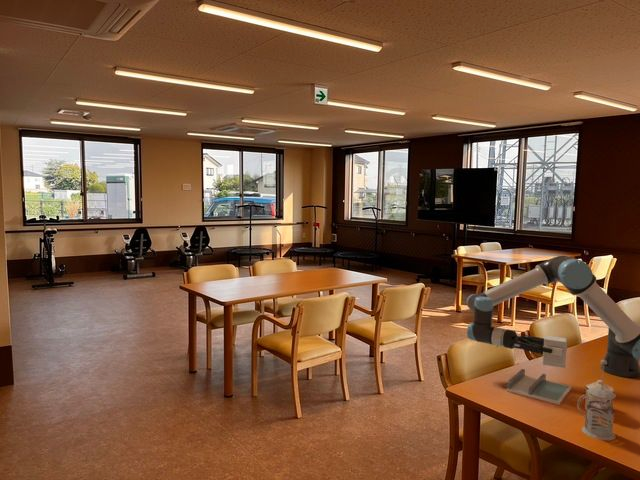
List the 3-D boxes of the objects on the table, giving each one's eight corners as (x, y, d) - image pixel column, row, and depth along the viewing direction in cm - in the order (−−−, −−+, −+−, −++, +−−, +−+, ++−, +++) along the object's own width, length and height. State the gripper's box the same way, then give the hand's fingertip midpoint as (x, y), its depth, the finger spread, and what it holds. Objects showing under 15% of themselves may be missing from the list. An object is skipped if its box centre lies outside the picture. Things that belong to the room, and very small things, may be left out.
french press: (619, 442, 155) (625, 366, 152) (579, 436, 158) (584, 362, 156) (610, 428, 164) (616, 356, 162) (573, 423, 167) (578, 352, 165)
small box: (564, 363, 192) (566, 338, 191) (565, 368, 187) (567, 341, 186) (542, 360, 196) (544, 335, 195) (542, 364, 191) (544, 338, 190)
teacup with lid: (608, 419, 170) (610, 387, 169) (580, 410, 177) (582, 380, 176) (618, 409, 179) (620, 379, 177) (591, 401, 185) (593, 372, 184)
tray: (571, 388, 197) (571, 380, 197) (559, 404, 182) (559, 395, 181) (521, 376, 209) (522, 368, 209) (506, 390, 194) (506, 382, 194)
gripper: (511, 341, 211) (569, 353, 197) (495, 352, 195) (557, 366, 181) (513, 324, 210) (571, 335, 196) (497, 334, 195) (558, 347, 180)
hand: (564, 350), depth 189 cm, fingers closed on small box, 7 cm apart
